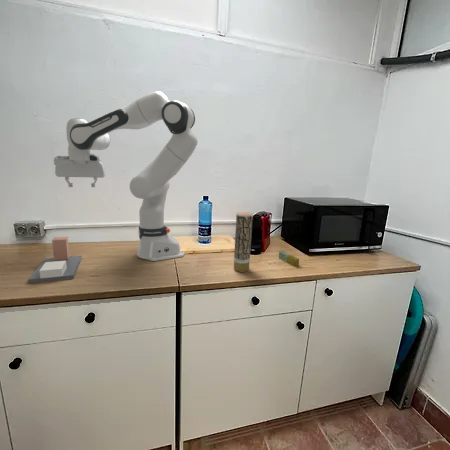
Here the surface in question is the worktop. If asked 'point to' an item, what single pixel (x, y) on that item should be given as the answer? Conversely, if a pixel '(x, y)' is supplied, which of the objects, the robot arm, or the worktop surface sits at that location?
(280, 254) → the medication box
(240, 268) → the paper tube
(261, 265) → the worktop surface
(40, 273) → the stand
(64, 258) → the salmon pink rectangular block
